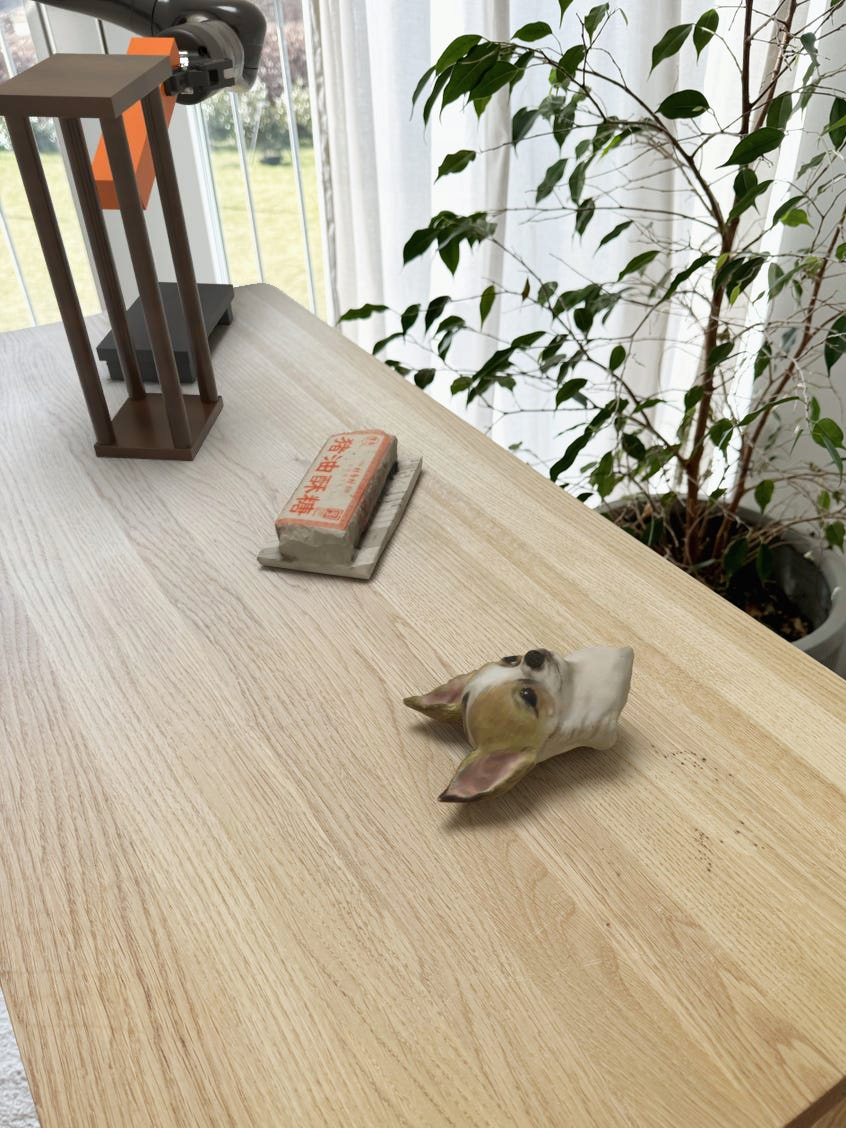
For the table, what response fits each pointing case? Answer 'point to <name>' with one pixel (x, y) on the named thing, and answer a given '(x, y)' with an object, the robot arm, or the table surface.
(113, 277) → the tall stand
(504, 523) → the table surface
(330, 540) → the packaged product
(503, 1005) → the table surface
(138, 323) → the low shelf
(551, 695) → the ceramic sculpture
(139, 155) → the orange block
